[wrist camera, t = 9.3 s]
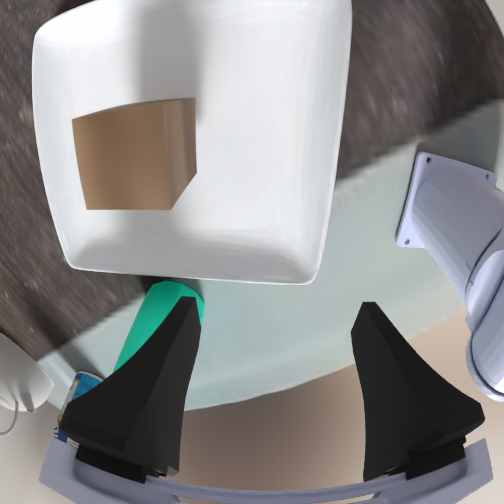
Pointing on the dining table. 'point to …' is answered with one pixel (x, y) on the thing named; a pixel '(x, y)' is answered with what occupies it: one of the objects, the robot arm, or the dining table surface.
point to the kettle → (21, 380)
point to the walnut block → (136, 154)
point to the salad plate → (202, 131)
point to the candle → (155, 315)
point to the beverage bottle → (79, 387)
